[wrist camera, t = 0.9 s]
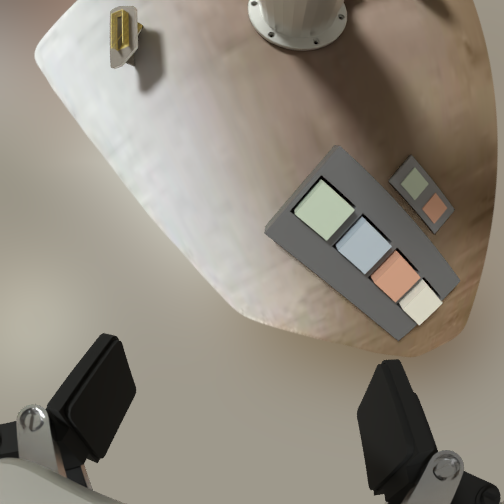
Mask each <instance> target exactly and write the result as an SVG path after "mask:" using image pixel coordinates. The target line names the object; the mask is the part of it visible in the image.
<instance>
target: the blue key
mask: <svg viewBox="0 0 504 504" xmlns="http://www.w3.org/2000/svg"><path fill="white" fill-rule="evenodd" d="M335 245H336V247H337V249H338V251H339V252H340V253H341V254H343V255H344V256H345V257H346V258H347V259H348V260H349V261H351V262H352V263H353V264H354V265H355V266H356V267H357V268H358V269H360V270H361V271H362V272H363V273H364V274H366V273H367V272H368V271H369V270H370V269H371V268H372V267H373V266H374V265H375V264H376V262H377V261H378V260H379V259H380V258H381V257H382V256H383V255H384V254H385V253H386V252H387V251H388V250H389V249H390V248H391V247H392V246H391V245H390V244H389V243H388V242H387V240H386V239H385V238H384V237H383V236H382V235H381V234H380V233H379V232H378V231H377V230H376V229H375V228H374V227H373V226H372V225H371V224H370V223H369V222H368V221H367V220H365V219H364V218H363V217H362V216H360V217H359V218H358V219H357V220H356V221H355V222H354V223H353V224H352V226H351V227H350V228H349V229H348V230H347V231H346V232H345V233H344V234H343V235H342V236H341V237H340V239H339V240H338V241H337V242H336V243H335Z"/></svg>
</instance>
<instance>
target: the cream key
mask: <svg viewBox="0 0 504 504" xmlns="http://www.w3.org/2000/svg"><path fill="white" fill-rule="evenodd" d="M399 304H400V306H401V307H402V309H403V310H404V311H405V312H406V313H407V314H408V315H409V316H410V317H411V318H412V319H413V320H414V321H415V322H416V323H417V324H418V325H420V324H421V323H422V322H424V321H425V320H426V319H427V318H428V317H429V316H430V315H431V314H432V313H433V312H434V311H435V310H436V309H437V308H438V307H439V306H440V305H441V304H442V302H441V300H440V299H439V298H438V297H437V295H436V294H435V293H434V292H433V291H432V289H431V288H430V287H429V286H428V285H427V284H426V282H425V281H424V280H423V279H421V280H420V281H419V282H418V283H417V284H416V285H415V286H414V287H413V288H412V289H411V290H410V291H409V292H408V293H407V294H406V295H405V296H404V297H403V298H402V299H401V300H400V301H399Z"/></svg>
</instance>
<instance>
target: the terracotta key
mask: <svg viewBox="0 0 504 504" xmlns="http://www.w3.org/2000/svg"><path fill="white" fill-rule="evenodd" d="M370 276H371V278H372V280H373V281H374V283H375V284H376V285H377V286H378V287H379V288H380V289H382V290H383V291H384V292H385V293H386V294H387V295H388V296H389V297H390V298H391V299H392V300H393V301H394V302H396V301H397V300H399V299H400V298H401V297H402V296H403V295H404V294H405V293H406V292H407V291H408V290H409V289H410V288H411V287H412V286H413V285H414V284H415V283H416V282H417V281H418V280H419V279H420V278H421V277H420V276H419V275H418V274H417V273H416V271H415V270H414V269H413V268H412V267H411V266H410V265H409V263H408V262H407V261H406V260H405V259H404V258H403V257H402V256H401V255H400V254H399V253H398V252H397V251H396V250H394V251H393V252H392V253H391V254H390V255H389V257H388V258H387V259H386V260H385V261H384V262H383V263H382V264H381V265H380V266H379V267H378V268H377V269H376V270H375V271H374V272H373V273H372V274H371V275H370Z"/></svg>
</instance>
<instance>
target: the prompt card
mask: <svg viewBox="0 0 504 504" xmlns="http://www.w3.org/2000/svg"><path fill="white" fill-rule="evenodd" d="M389 182H390V184H391V185H392V186H393V187H394V188H395V189H396V190H397V191H398V192H399V193H400V194H401V195H402V197H403V198H404V199H405V200H406V201H407V202H408V203H409V204H410V206H411V207H412V208H413V209H414V210H415V211H416V213H417V214H418V215H419V216H420V217H421V218H422V220H423V221H424V222H425V223H426V225H427V226H428V227H429V228H430V229H431V231H432V232H433V233H434V234H435V233H436V232H437V231H438V229H439V228H440V227H441V226H442V225H443V224H444V222H445V221H446V220H447V219H448V218H449V216H450V215H451V214H452V213H453V211H454V210H455V209H454V208H453V207H452V205H451V204H450V202H449V201H448V200H447V198H446V197H445V196H444V194H443V193H442V192H441V190H440V189H439V188H438V186H437V185H436V184H435V183H434V181H433V180H432V179H431V177H430V176H429V175H428V174H427V173H426V171H425V170H424V169H423V168H422V167H421V165H420V164H419V163H418V162H417V161H416V160H415V158H414V157H413V156H412V155H410V156H409V157H408V158H407V159H406V161H405V162H404V163H403V164H402V165H401V167H400V168H399V169H398V170H397V171H396V172H395V174H394V175H393V176H392V177H391V178H390V179H389Z"/></svg>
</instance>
